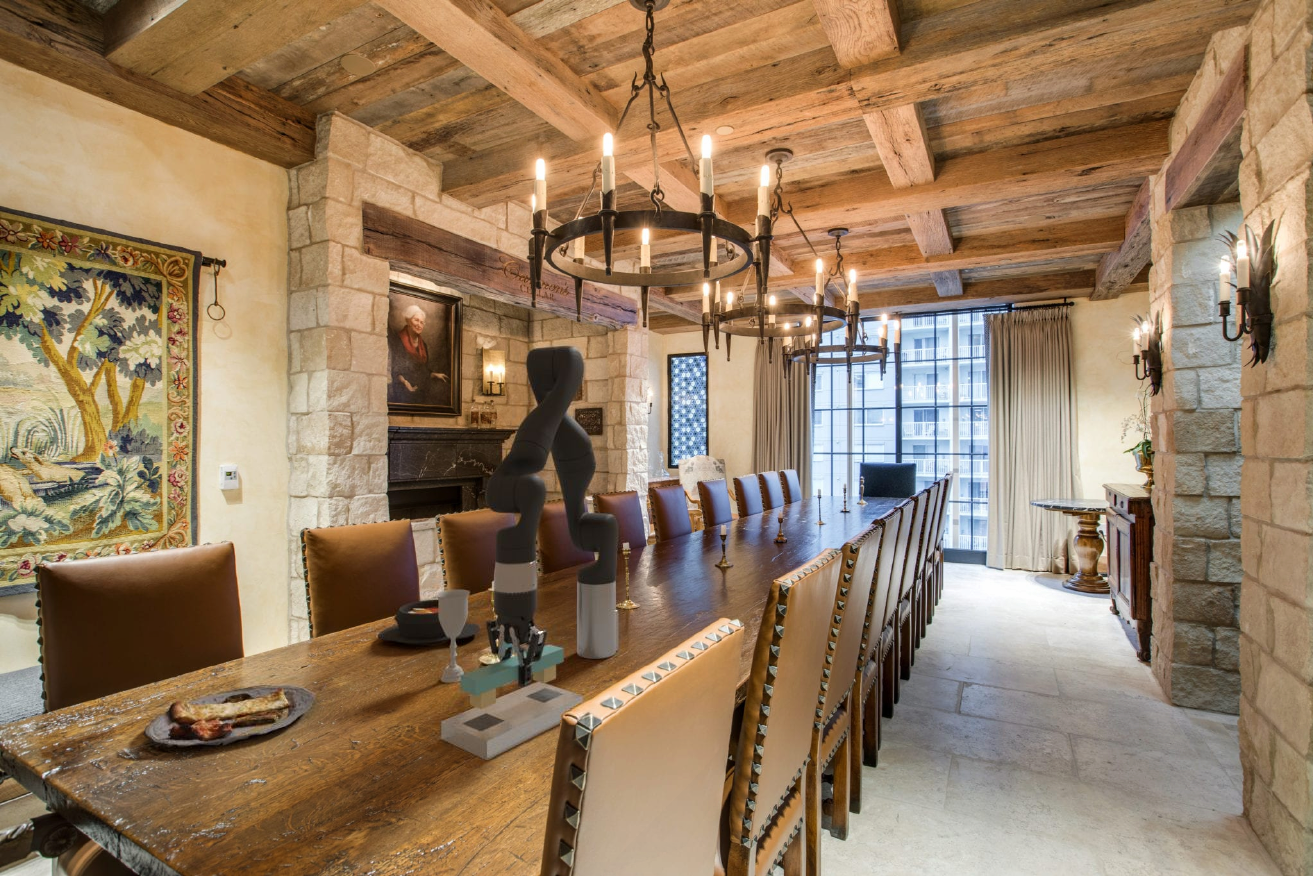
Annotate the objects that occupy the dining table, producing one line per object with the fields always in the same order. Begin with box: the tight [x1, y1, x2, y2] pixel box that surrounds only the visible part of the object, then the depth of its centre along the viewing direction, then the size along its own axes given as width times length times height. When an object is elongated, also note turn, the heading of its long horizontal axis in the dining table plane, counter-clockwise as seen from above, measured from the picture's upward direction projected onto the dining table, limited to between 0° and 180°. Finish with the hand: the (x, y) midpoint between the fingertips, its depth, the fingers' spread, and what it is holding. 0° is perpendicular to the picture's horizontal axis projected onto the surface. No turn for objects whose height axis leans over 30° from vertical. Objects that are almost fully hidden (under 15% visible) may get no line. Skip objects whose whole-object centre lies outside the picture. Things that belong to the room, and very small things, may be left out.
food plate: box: [143, 684, 315, 748], centre depth 112 cm, size 25×23×4 cm
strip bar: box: [460, 644, 565, 709], centre depth 110 cm, size 20×4×5 cm, turn 144°
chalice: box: [435, 589, 471, 684], centre depth 133 cm, size 7×7×18 cm
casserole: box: [377, 599, 481, 646], centre depth 160 cm, size 25×19×8 cm
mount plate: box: [440, 681, 584, 761], centre depth 110 cm, size 22×12×3 cm, turn 144°
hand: (515, 682), depth 110 cm, fingers closed on strip bar, 4 cm apart
